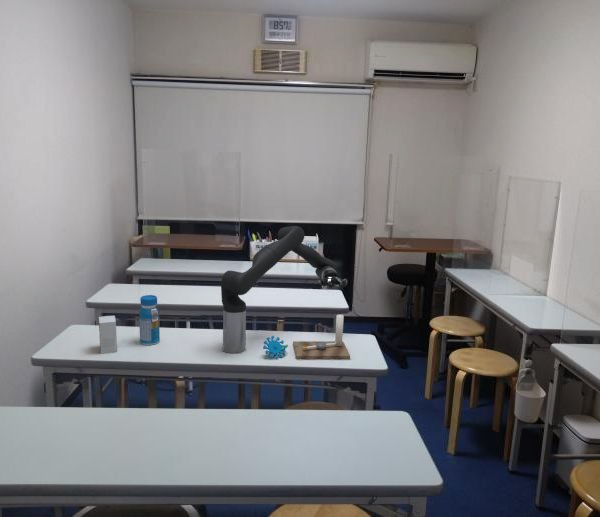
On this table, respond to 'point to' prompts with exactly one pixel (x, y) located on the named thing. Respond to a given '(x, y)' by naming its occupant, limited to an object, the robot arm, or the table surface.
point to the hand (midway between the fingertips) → (336, 286)
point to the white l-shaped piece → (337, 337)
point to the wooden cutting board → (320, 351)
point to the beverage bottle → (149, 320)
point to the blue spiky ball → (274, 347)
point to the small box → (107, 334)
